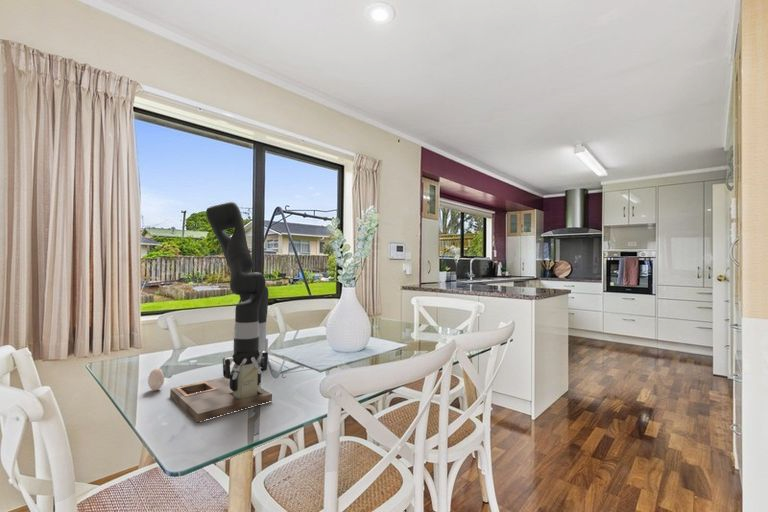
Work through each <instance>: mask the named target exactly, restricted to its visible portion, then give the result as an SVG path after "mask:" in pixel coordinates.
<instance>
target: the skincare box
mask: <svg viewBox="0 0 768 512" xmlns="http://www.w3.org/2000/svg"><path fill="white" fill-rule="evenodd" d="M257 363H258V362H257ZM258 364H259V363H258ZM233 366H234V367H235V368H236V369H237V368H238V365H236V364H235V363H234V364H233ZM236 379H237V388H236V391H233V397H235V398H236V399H238V400H241V399H245V398H249V397H252V396H256V395H257V385H258V368H257V369H256V368H255V366H254V364H253V363H251V364H245V365H243V366H242V365H241V366H240V373H238V375H237V377H236ZM258 386H259V385H258Z"/></svg>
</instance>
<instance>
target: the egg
mask: <svg viewBox="0 0 768 512" xmlns="http://www.w3.org/2000/svg"><path fill="white" fill-rule="evenodd" d="M147 377H148V378H147V385H148V387H149V389H150V390H152V391H158V390H160V389H161V388H162V386H163V385H164V382H165V375H164V373H163V371H162V369H161V368H160V367H156V368H154V369H152V370H151V371H150V373H149V375H148V376H147Z"/></svg>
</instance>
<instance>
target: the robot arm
mask: <svg viewBox="0 0 768 512" xmlns="http://www.w3.org/2000/svg"><path fill="white" fill-rule="evenodd" d="M205 215H206V218H207V221H208V223H209V224H210V227H211V229H212V232H213V233H214V235H215V237H216V239H217V241H218V243H219V245H220V248H221V250H222V253H223V255H224V259H225V261H226V263H227V265H228V268H229V270H230V282H229V288H230V291H231V292H232V293H233V294H234V295H237V296H239V298H240V301H241V302H239V303H237V304H236V305H235V309H234V312H235V318H234V320H235V321H234V328H233V329H234V330H233V354H232V356H230V357H223V358H222V373H223V374H222V375H223V377H225V378H227V379H230V389H231V390H232V391H236V388H237V379H236V377H237V375H238V373H240V366H241V365H242V366H243V365H245V364H251V363H253V364H254V366H255V368H256V369H257V368H258V385H257V386H260V384H261V379H262V378H261V377H262V373H263V372H265V371H267V369H268V360H269V359H268V358H269V353H268V351H269V339H268V338H267V320H268V319H267V317H268V309H269V307H268V306H269V288H268V286H266V283H267V282H266V281H267V280H266V278H265V276H264V275H263V273H261V272H259V271H257V272H256V271H255V272H254V271H253V272H252V270H253V267H254V260H253V257H252V255H251V253H250V249H249V246H248V242H247V237H246V236H247V235H246V229H245V226H244V219H243V217H242V213H241V210H240V208H239V206H238V205H237V203H236V202H234V201H227V202H224V203H223V202H222V203H220V204H215V205H212V206H209V207H207V208H206V210H205ZM230 229H234V230H233V232H232V235H231V236H229V234H228V233H227V232H226V230H230ZM232 362H233V363H234V364H236V365H238V368H237V369H236V368H235V367H234V365H233V366H232V368H231V365H232V364H233V363H232ZM257 362H258V363H257ZM259 364H260V365H259Z"/></svg>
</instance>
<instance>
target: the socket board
mask: <svg viewBox="0 0 768 512" xmlns="http://www.w3.org/2000/svg"><path fill="white" fill-rule="evenodd" d="M204 390H205V391H204ZM169 391H170V394H169V397H170V398H172V399H173V400H174V402H176V404H178V405H179V406H180V408H182V409H183V410H184V412H186V414H188V415H189V416H190V417H191V418H192V419H193V420H194V421H195V422H196V423H197V422H200V421H203V422H205V421H204V420H206V419H210V418H213V417H217V416H220V415H224V414H227V413H231V412H234V411H238V410H241V409H245V408H248V407H251V406H255V405H258V404H262V403H266V402H269V401H272V402H273V393H271V392H270V391H267V390H265V389H264V388H263V387H260V385H258V386H257V395H256V396H252V397H249V398H245V399H241V400H238V399H236V398H235V397H233V391H232V390H231V389H230V379H227V378H225V377H224V376H223V377H219V378H213V379H208V380H204V381H199V382H195V383H190V384H185V385H180V386H176V387H171V388H170V389H169ZM200 391H201V392H200ZM196 392H197V393H196ZM224 416H225V415H224ZM217 418H218V417H217ZM210 420H211V419H210ZM200 423H201V422H200Z"/></svg>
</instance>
